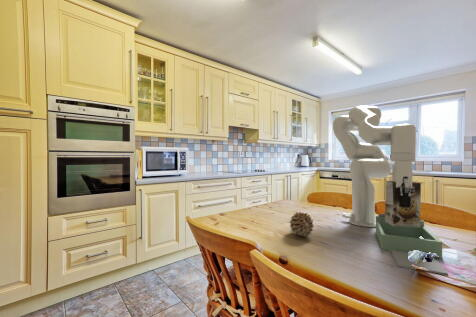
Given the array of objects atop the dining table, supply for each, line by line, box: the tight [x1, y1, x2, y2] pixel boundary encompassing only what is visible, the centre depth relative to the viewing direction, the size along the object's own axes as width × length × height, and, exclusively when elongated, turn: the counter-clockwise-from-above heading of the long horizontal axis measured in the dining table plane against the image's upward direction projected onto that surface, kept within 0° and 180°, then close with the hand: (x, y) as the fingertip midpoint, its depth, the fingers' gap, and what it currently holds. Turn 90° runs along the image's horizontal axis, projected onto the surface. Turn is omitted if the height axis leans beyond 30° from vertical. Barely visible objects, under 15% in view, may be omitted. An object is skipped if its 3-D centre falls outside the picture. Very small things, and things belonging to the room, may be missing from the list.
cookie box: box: [384, 180, 422, 227], centre depth 83 cm, size 9×6×16 cm
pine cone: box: [289, 211, 315, 237], centre depth 94 cm, size 22×10×10 cm, turn 175°
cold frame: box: [375, 213, 443, 259], centre depth 82 cm, size 16×20×8 cm
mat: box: [390, 250, 449, 276], centre depth 67 cm, size 11×12×1 cm
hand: (402, 204), depth 83 cm, fingers closed on cookie box, 7 cm apart
